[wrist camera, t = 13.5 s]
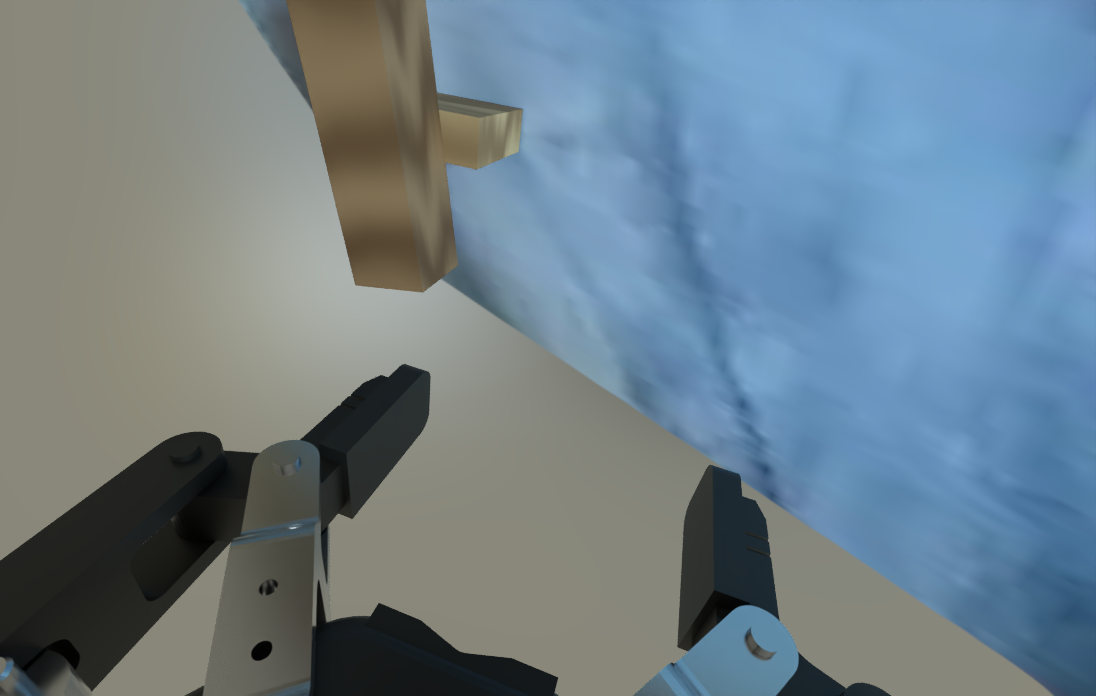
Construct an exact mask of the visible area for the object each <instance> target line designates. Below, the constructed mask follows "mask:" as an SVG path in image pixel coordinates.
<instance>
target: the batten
mask: <svg viewBox="0 0 1096 696" xmlns="http://www.w3.org/2000/svg"><path fill="white" fill-rule="evenodd" d="M286 1H287V5H288V10H289V14H290V18H291V22H292V26H293V30H294V34H295V38H296V43H297V47H298V51H299V55H300V59H301V63H302V67H303V71H304V76H305V80H306V84H307V88H308V92H309V96H310V100H311V104H312V109H313V113H314V116H315V121H316V125H317V129H318V133H319V137H320V142H321V146H322V149H323V154H324V158H325V162H326V166H327V170H328V174H329V179H330V182H331V186H332V191H333V195H334V199H335V203H336V207H337V211H338V216H339V220H340V224H341V227H342V232H343V236H344V240H345V244H346V249H347V253H348V257H349V261H350V265H351V269H352V273H353V277H354V281H355V285H358V286H367V287H377V288H386V289H396V290H405V291H415V292H424V291H426V290H427V289H428V288H429V287H431V286H432V285H433V284H434V283H436V282H437V281H438V280H440V279H441V278H442V277H444V276H445V275H446V274H447V273H449V272H450V271H451V270H453V269H454V268H455V267H456V266H458V262H457V254H456V245H455V237H454V229H453V221H452V213H451V205H450V196H449V188H448V180H447V172H446V164H445V156H444V148H443V139H442V131H441V123H440V115H439V107H438V99H437V90H436V82H435V74H434V66H433V58H432V50H431V41H430V33H429V25H428V17H427V9H426V1H425V0H286Z"/></svg>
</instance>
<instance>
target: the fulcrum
mask: <svg viewBox="0 0 1096 696" xmlns="http://www.w3.org/2000/svg"><path fill="white" fill-rule="evenodd" d="M437 99H438V107H439V115H440V123H441V131H442V139H443V148H444V156H445V163H450V164H454V165H459V166H463V167H468V168H472V169H479V168H481V167H484V166H486V165H488V164H491V163H493V162H495V161H498V160H500V159H502V158H505V157H507V156H509V155H512V154H514V153H517V152H519V142H520V132H521V122H522V112H523V109H520V108H515V107H510V106H504V105H499V104H494V103H489V102H483V101H478V100H473V99H468V98H463V97H457V96H452V95H447V94H442V93H437Z"/></svg>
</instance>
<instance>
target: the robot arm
mask: <svg viewBox="0 0 1096 696" xmlns="http://www.w3.org/2000/svg"><path fill="white" fill-rule="evenodd" d="M429 401H430V373H429V372H427V371H424V370H421V369H418V368H415V367H412V366H409V365H406V364H403V365H401V366H400V367H399V368H398V369H397V370H396V371H395V372H393V373H392V374H391V375H390V376H389V377H385V376H382V375H380V376H378V377H376V378H374V379H371V380H369V381H367V382H365V383H363V384H362V385H361V386H360V387H359V388H358V389H356V390H355V391H354V392H353V393H352V394H351V396H349V397H347V398H346V399H345V400H344V401H343V402H342V403H341V405H340V406H337V407H336V408H335V409H334V410H333V411H332V412H331V413H330V414H328V415H327V416H326V417H325V418H324V419H323V420H322V421H321V422H320V423H318V424H317V425H316V426H315V427H314V428H313V429H312V430H311V431H310V432H309V433H307V434H306V435H305V436H304V437H303V438H302V439H300V440H288V441H283V442H279V443H276V444H274V445H271V446H269V447H268V448H266V449H265V450H263V451H262V452H261V453H250V452H235V451H224V450H223V447H222V443H221V441H220V439H219V438H218V437H217V436H215V435H213V434H211V433H207V432H189V433H184V434H180V435H177V436H174V437H171V438H169V439H167V440H165V441H163V442H162V443H160V444H159V445H158V446H156V447H155V448H153V449H152V450H151V451H149V452H148V453H146V454H145V455H144V456H142V457H141V458H140V459H138V460H137V461H136V462H134V463H133V464H131V465H130V466H129V467H127V468H126V469H125V470H123V471H122V472H120V473H119V474H118V475H116V476H115V477H114V478H112V479H111V480H110V481H108V482H107V483H105V484H104V485H103V486H101V487H100V488H99V489H97V490H96V491H95V492H93V493H92V494H90V495H89V496H88V497H86V498H85V499H84V500H82V501H81V502H80V503H78V504H77V505H76V506H74V507H73V508H71V509H70V510H69V511H68V512H66V513H65V514H63V515H62V516H61V517H59V518H58V519H56V520H55V521H54V522H52V523H51V524H50V525H48V526H47V527H45V528H44V529H43V530H41V531H40V532H39V533H37V534H36V535H35V536H33V537H32V538H30V539H29V540H28V541H26V542H25V543H24V544H22V545H21V546H20V547H18V548H17V549H15V550H14V551H13V552H12V553H10V554H9V555H7V556H6V557H5V558H3V559H2V560H0V696H92V694H91V692H92V691H93V689H94V688H95V687H96V686H97V685H98V684H99V683H100V682H101V681H102V680H103V679H104V678H105V676H106V675H107V674H108V673H109V672H110V671H111V670H112V669H113V668H114V667H115V666H116V665H117V664H118V663H119V662H120V661H121V659H122V658H123V657H124V656H125V655H126V654H127V653H128V652H129V651H130V650H131V649H132V647H134V646H135V644H136V643H137V642H138V641H139V640H140V639H141V638H142V637H143V636H144V635H145V634H146V633H147V632H148V630H149V629H150V628H151V627H152V626H153V625H154V624H155V623H156V622H157V621H158V620H159V618H161V617H162V615H163V614H164V613H165V612H166V611H167V610H168V609H169V608H170V607H171V606H172V605H173V604H174V602H175V601H176V600H177V599H178V598H179V597H180V596H181V595H182V594H183V593H184V592H185V591H186V590H187V589H188V587H189V586H190V585H191V584H192V583H193V582H194V581H195V580H196V579H197V578H198V577H199V576H200V575H201V573H202V572H203V571H204V570H205V569H206V568H207V567H208V566H209V565H210V564H211V563H212V562H213V561H214V560H215V558H216V557H217V556H218V555H219V554H220V553H221V552H222V551H223V550H224V549H225V548H226V547H227V546H228V545H229V544H230V542H231V545H230V549H229V554H228V559H227V565H226V571H225V576H224V581H223V587H222V592H221V598H220V603H219V609H218V614H217V620H216V625H215V631H214V636H213V642H212V647H211V652H210V659H209V664H208V669H207V674H206V680H205V685H204V686H202V687H200V688H198V689H197V690H195V691H193V692H191V693H189V694H187V695H185V696H558V695H557V694H555V693H554V692H555V688H556V684H557V680H558V677H556V676H553V675H551V674H548V673H546V672H544V671H541V670H539V669H536V668H534V667H532V666H529V665H527V664H524V663H522V662H519V661H517V660H515V659H512V658H504V657H495V656H486V655H477V654H468V653H462V652H459V651H458V650H456V649H455V648H454V647H452V646H451V645H450V644H449V643H448V642H446V641H445V640H444V639H443V638H442V637H440V636H439V635H438V634H437V633H435V632H434V631H433V630H432V629H431V628H429V627H428V626H427V625H426V624H424V623H423V622H422V621H421V620H418V619H416V618H414V617H411V616H409V615H407V614H404V613H402V612H399V611H397V610H395V609H392V608H390V607H387V606H385V605H382V604H380V603H379V604H378V605H377V607H376V608H375V610H374V612H373V613H372V615H371V616H352V617H346V618H340V619H336V620H333V621H331V611H330V595H329V523H330V522H331V521H332V520H333V518H335V516H336V515H337V514H341V515H344V516H346V517H349V518H351V519H353V518H354V516H355V515H356V514H357V513H358V511H359V510H360V508H361V507H362V506H363V505H364V504H365V502H366V501H367V500H368V499H369V497H370V496H371V495H372V494H373V492H374V491H375V490H376V489H377V487H378V486H379V485H380V484H381V482H382V481H383V480H384V479H385V477H386V476H387V475H388V474H389V472H390V471H391V470H392V469H393V467H394V466H395V465H396V464H397V462H398V461H399V460H400V459H401V457H402V456H403V455H404V454H405V452H406V451H407V450H408V449H409V447H410V446H411V445H412V444H413V442H414V441H415V440H416V438H417V437H418V436H419V435H420V434H421V432H422V430H423V429H424V427H425V425H426V422H427V419H428V416H429ZM170 519H171V520H170ZM161 527H162V528H161ZM160 528H161V529H160ZM151 536H152V537H151ZM678 647H679V648H681V649H684V650H686V651H688V652H687V653H686V654H685V655H684V656H683V657H682V658H681V659H679V660H678V661H677V662H676V663H674V664H673V663H670V664H668V665H667V666H666V667H664V668H663V669H662V670H661V671H660V672H659V673H658V674H656V675H655V676H654V677H653V678H652V679H651V680H650V681H649V682H648V683H646V684H645V686H643V687H642V688H641V689H640V690H639V691H638V692H637V693H635V694H634V695H633V696H891V695H889V694H888V693H886V692H885V691H883V690H882V689H880V688H878V687H876V686H873V685H870V684H867V683H855V684H852V685H851V686H849V687H848V688H847V689H846V688H845V687H843V686H842V685H841V684H839V683H838V682H836V681H835V680H833V679H832V678H830V677H829V676H828V675H826V674H825V673H823V672H822V671H821V670H819V669H818V668H816V667H815V666H813V665H812V664H811V663H809V662H808V661H807V660H806V659H805V658H804V657H803V656H802V655H801V654H800V653H799V652H798V651H797V647H796V644H795V642H794V640H793V638H792V636H791V635H790V633H789V631H788V630H787V629H786V627H785V626H784V625H783V624H782V623H781V622H780V620H779V615H778V608H777V600H776V593H775V585H774V578H773V570H772V562H771V558H770V547H769V542H768V532H767V524H766V519H765V517H764V516H763V513H762V512H761V510H760V508H759V506H758V504H757V503H756V501H755V500H752V499H748V498H746V497H743V496H742V489H741V478H740V475H739V474H737V473H734V472H731V471H728V470H725V469H722V468H719V467H715V466H713V465H709V466H708V467H707V469H706V471H705V473H704V475H703V477H702V479H701V481H700V483H699V485H698V487H697V489H696V491H695V493H694V495H693V497H692V499H691V501H690V503H689V506H688V508H687V511H686V516H685V521H684V532H683V551H682V571H681V589H680V608H679V628H678Z"/></svg>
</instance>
